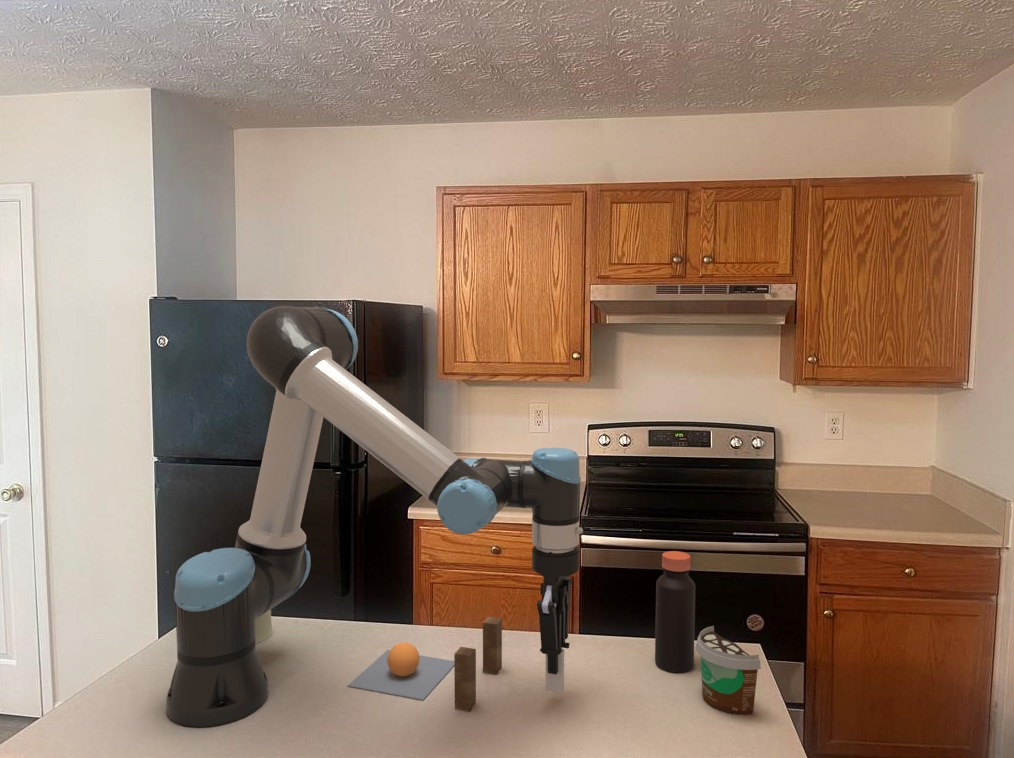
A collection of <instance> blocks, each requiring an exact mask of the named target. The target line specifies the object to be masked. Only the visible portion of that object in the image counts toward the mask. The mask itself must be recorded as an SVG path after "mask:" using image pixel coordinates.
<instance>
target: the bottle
mask: <svg viewBox="0 0 1014 758" xmlns="http://www.w3.org/2000/svg"><path fill="white" fill-rule="evenodd" d="M661 557H662V558H661V569H662V571H663V574H661V575H660V576H659V577H658V579H656V583H655V585H656V586H655V587H656V588H655V634H654V636H655V637H654V639H655V640H654V641H655V642H654V644H655V645H654V646H655V647H654V662H655V664H656V666H658V668H660V669H661V670H664V671H666V672H669V673H675V674H676V673H678V674H679V673H686V672H689V671H691V670H692V669H693V667H694V664H695V630H696V629H695V626H696V625H695V624H696V621H695V620H696V583H695V582H694V580H693V579H692V578H691V577H690V576H689V573H690V571H691V559H692V558H691V555H690V554H689V553H686V552H683V551H677V550H671V551H664V552H663V553H662V554H661Z"/></svg>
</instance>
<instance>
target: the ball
mask: <svg viewBox="0 0 1014 758" xmlns="http://www.w3.org/2000/svg"><path fill="white" fill-rule="evenodd" d="M389 650H390V652H389V654H388V658H387V662H388V666H389V669H390V670H391V672H392V673H394V674H395V675H397V676H401V677H404V676H408V675H410V674H412V673H413V672H414V671H415V670H416V669H417V667H418V665H419V655H420V654H419V650H418V649H417V648H416V647H415V645H413V644H411V643H408V642H399V643H397V644H395V645H394V646H392V647H391V649H389Z"/></svg>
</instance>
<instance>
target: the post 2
mask: <svg viewBox="0 0 1014 758" xmlns="http://www.w3.org/2000/svg"><path fill="white" fill-rule="evenodd" d="M502 648H503V619H502V618H500V617H493V616H492V617H491V616H487V618H485V620H484V621H483V622H482V673H483V674H490V675H494V676H495V675H496V676H497V675H498V674H499V672H500V671H502V670H501V669H502V668H503V649H502Z"/></svg>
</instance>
